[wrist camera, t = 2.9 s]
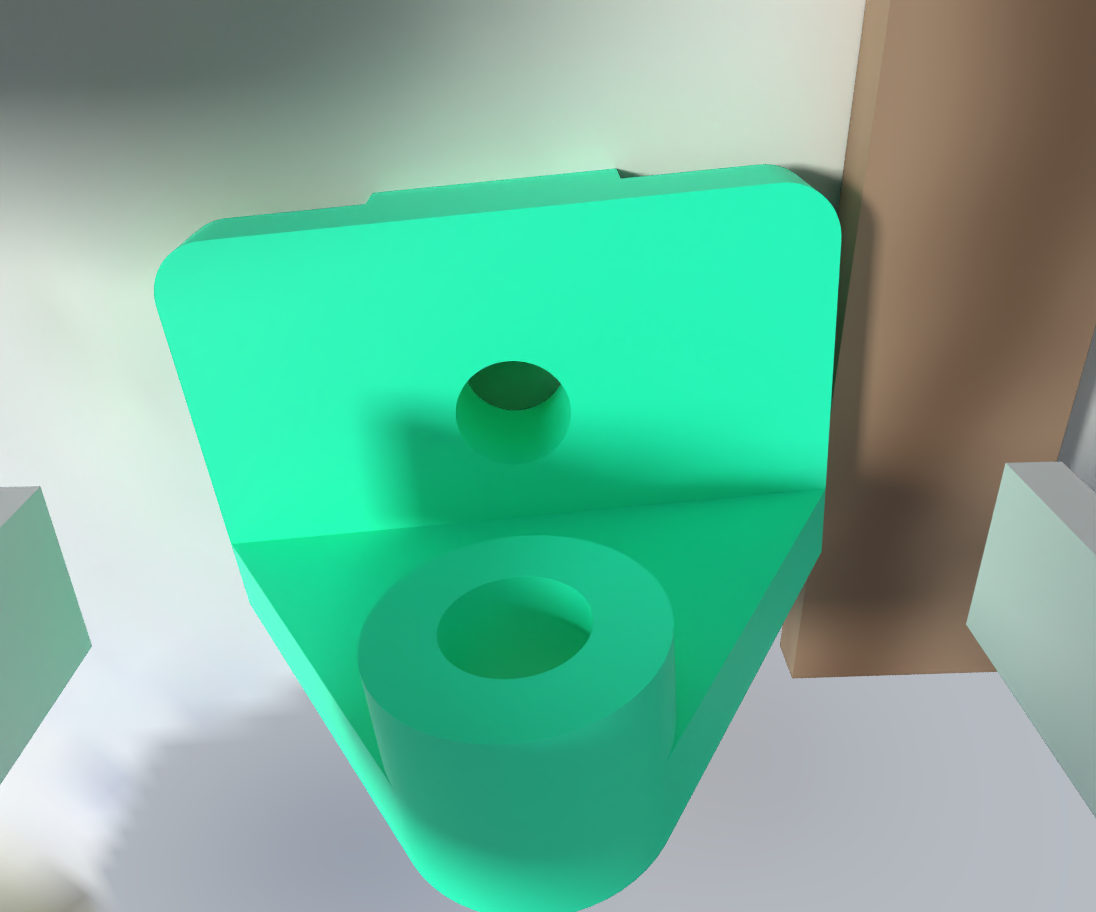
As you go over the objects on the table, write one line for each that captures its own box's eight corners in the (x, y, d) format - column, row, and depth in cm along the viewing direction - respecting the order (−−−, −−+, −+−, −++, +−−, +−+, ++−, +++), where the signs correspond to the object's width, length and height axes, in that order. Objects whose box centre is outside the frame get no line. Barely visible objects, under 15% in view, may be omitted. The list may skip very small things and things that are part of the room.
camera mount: (802, 147, 17) (1103, 349, 8) (789, 486, 21) (988, 881, 12) (186, 209, 18) (-161, 470, 9) (279, 534, 21) (102, 954, 12)
